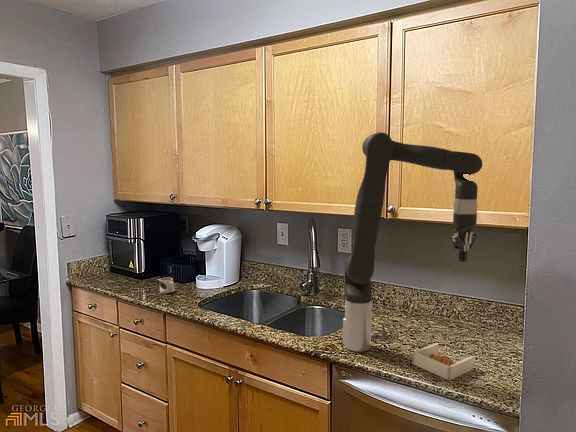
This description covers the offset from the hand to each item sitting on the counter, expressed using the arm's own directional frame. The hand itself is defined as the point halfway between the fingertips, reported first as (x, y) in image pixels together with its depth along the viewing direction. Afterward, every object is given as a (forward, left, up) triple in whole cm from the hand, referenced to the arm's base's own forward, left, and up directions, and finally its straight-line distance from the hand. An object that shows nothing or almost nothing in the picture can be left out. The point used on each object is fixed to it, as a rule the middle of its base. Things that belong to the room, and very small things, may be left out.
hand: (462, 261), depth 151 cm
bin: (+6, -18, -31) cm, 36 cm away
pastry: (+6, -19, -31) cm, 37 cm away
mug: (-126, -59, -31) cm, 143 cm away
